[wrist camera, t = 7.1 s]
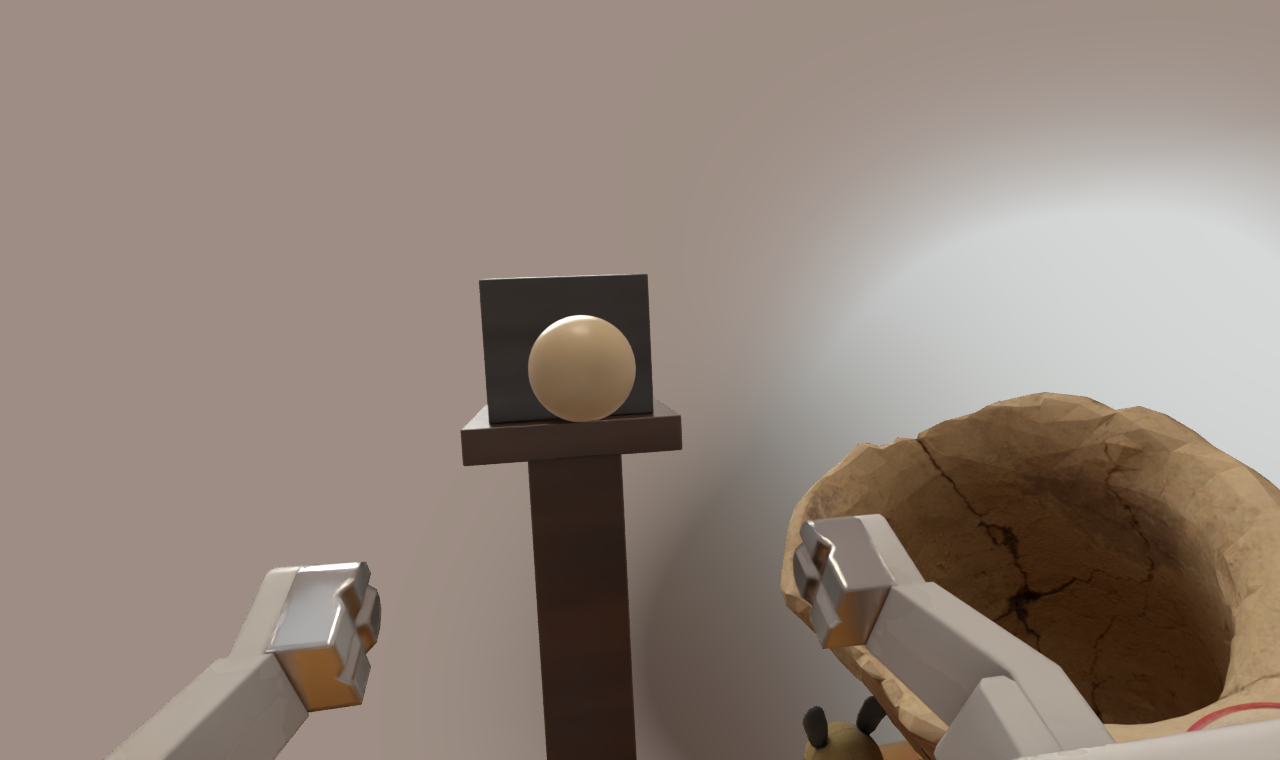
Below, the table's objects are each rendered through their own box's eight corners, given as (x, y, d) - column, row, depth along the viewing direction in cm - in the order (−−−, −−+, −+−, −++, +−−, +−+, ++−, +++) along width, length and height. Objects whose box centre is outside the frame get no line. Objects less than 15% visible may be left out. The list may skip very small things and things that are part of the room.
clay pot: (1319, 654, 43) (1299, 376, 34) (1385, 1173, 27) (1379, 895, 18) (930, 584, 63) (854, 397, 54) (831, 858, 47) (700, 652, 38)
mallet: (786, 525, 11) (777, 189, 10) (384, 563, 10) (352, 195, 9) (636, 397, 32) (630, 284, 31) (502, 406, 31) (494, 289, 30)
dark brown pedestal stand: (731, 1149, 26) (704, 421, 23) (496, 1206, 24) (436, 439, 21) (683, 922, 36) (660, 394, 33) (514, 953, 34) (475, 405, 31)
